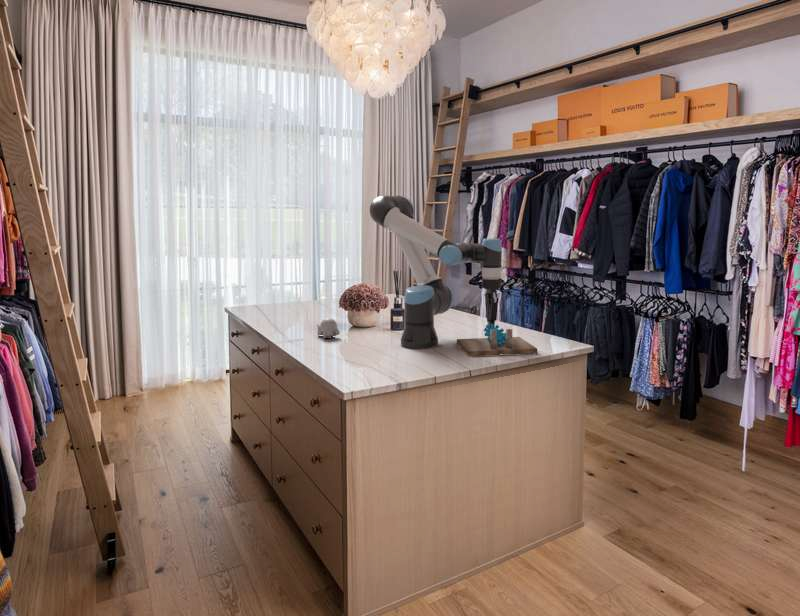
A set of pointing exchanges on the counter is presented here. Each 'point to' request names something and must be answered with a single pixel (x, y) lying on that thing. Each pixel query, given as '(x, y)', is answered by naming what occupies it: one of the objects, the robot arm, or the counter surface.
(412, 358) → the counter surface
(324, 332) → the chubby cartoon animal
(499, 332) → the gear
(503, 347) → the dowel plate
